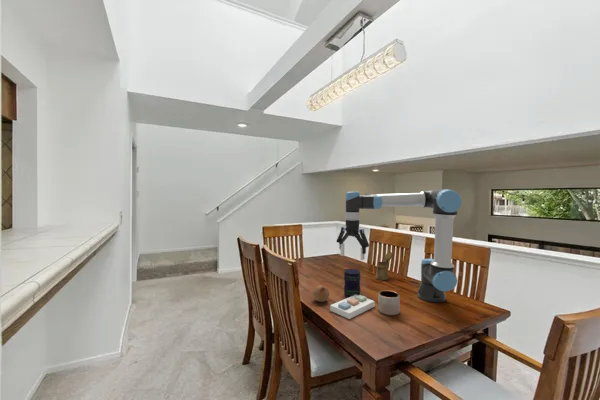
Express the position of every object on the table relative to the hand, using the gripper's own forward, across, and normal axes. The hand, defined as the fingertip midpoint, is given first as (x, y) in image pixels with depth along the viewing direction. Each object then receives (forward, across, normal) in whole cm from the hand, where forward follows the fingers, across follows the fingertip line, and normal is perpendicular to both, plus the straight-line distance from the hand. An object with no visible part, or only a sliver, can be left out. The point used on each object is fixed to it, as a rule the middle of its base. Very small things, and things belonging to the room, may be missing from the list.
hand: (352, 257), depth 158 cm
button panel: (+27, -3, +4) cm, 28 cm away
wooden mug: (+27, +10, -55) cm, 62 cm away
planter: (+27, -19, -7) cm, 34 cm away
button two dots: (+26, -4, -3) cm, 26 cm away
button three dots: (+26, -3, +4) cm, 26 cm away
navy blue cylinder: (+27, +8, -12) cm, 31 cm away
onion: (+28, +16, +8) cm, 33 cm away
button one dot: (+26, -3, +11) cm, 28 cm away
